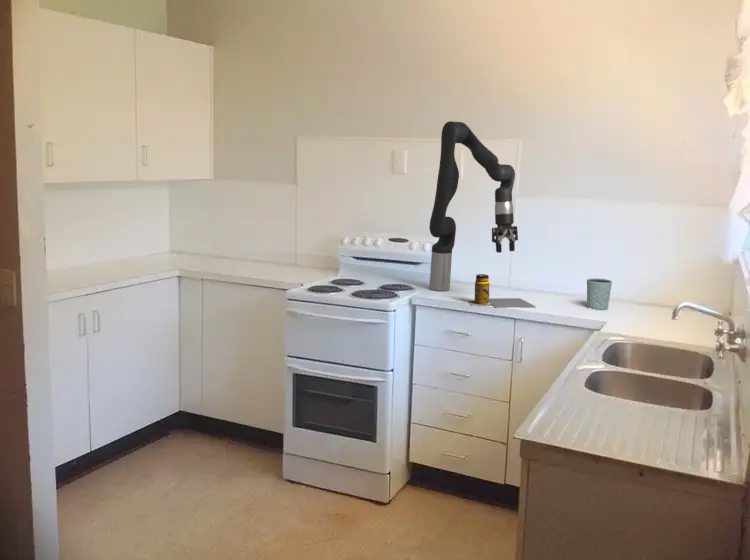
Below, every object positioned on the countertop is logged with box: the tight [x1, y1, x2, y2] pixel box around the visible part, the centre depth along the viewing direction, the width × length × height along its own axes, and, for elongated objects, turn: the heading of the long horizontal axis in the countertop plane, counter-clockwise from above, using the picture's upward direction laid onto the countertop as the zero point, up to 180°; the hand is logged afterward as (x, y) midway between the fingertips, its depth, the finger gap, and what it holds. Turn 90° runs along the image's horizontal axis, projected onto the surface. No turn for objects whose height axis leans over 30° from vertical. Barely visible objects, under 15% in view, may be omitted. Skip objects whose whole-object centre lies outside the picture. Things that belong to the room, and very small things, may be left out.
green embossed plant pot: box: [586, 277, 613, 311], centre depth 320 cm, size 10×10×12 cm
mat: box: [489, 297, 537, 309], centre depth 323 cm, size 16×18×1 cm
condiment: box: [467, 273, 491, 306], centre depth 319 cm, size 7×8×12 cm
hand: (505, 251), depth 316 cm, fingers open, 8 cm apart
